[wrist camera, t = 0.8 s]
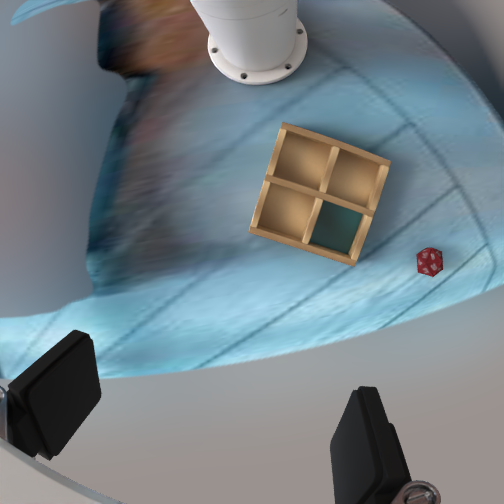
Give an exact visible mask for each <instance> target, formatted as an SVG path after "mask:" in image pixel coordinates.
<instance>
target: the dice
mask: <svg viewBox="0 0 504 504" xmlns="http://www.w3.org/2000/svg"><path fill="white" fill-rule="evenodd" d="M417 267H418V273H422V274H425V275H429V276H432V277H434V276H435V275H436V274H438V273H439V272H440V271H441V270H443V258H442V251H439V250H437V249H434V248H425V249H424V250H422V251H421V252H419V253H418V254H417Z"/></svg>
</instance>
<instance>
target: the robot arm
mask: <svg viewBox="0 0 504 504" xmlns="http://www.w3.org/2000/svg"><path fill="white" fill-rule="evenodd" d="M190 2H191V3H192V5H193V6H194V8H195V9H196V11H197V13H198V14H199V16H200V17H201V19H202V21H203V22H204V24H205V26H206V27H207V29H208V31H209V32H210V35H209V38H208V50H209V55H210V57H211V59H212V62H213V63H214V65H215V66H216V67H217V68H218V69H219V71H220V72H221V73H223V74H224V75H225V76H227V77H228V78H230V79H232V80H234V81H236V82H240V83H243V84H249V85H265V84H270V83H274V82H277V81H279V80H282V79H284V78H286V77H287V76H289V75H291V74H292V73H293V72H294V71H295V70H296V69H297V68H298V67H299V66H300V64H301V63H302V62H303V59H304V57H305V55H306V51H307V43H308V39H307V33H306V31H305V28H304V26H303V24H302V23H301V21H300V20H299V19H298V18H297V4H298V0H190ZM298 33H301V34H298ZM215 51H218V52H217V53H214V52H215ZM287 67H289V68H290V69H289V70H287V69H286V68H287ZM245 76H246V77H247V78H246V79H243V77H245ZM8 387H9V390H8V391H7V392H6V391H5V389H4V388H2V387H1V386H0V504H125V503H122V502H120V501H117V500H115V499H112V498H110V497H107V496H105V495H103V494H101V493H98V492H96V491H94V490H92V489H89V488H87V487H85V486H83V485H81V484H79V483H77V482H75V481H73V480H71V479H69V478H67V477H65V476H63V475H61V474H59V473H57V472H56V471H54V470H52V469H50V468H48V467H47V466H45V465H43V464H42V463H39V462H38V461H36V460H35V456H36V455H37V453H38V454H39V455H41V456H42V457H44V458H46V459H47V460H49V461H50V460H51V459H52V457H53V456H57V455H58V454H59V453H60V452H61V451H62V449H63V448H64V447H65V445H66V444H67V443H68V441H69V440H70V439H71V437H72V436H73V435H74V433H75V432H76V430H77V429H78V428H79V427H80V425H81V424H82V422H83V421H84V420H85V419H86V418H87V416H88V415H89V414H90V412H91V411H92V410H93V408H94V407H95V406H96V404H97V403H98V402H99V400H100V398H101V388H100V383H99V377H98V371H97V365H96V358H95V351H94V344H93V340H92V339H90V336H89V334H87V333H84V332H81V331H78V330H73V331H72V332H70V333H69V334H68V335H67V336H66V337H64V338H63V339H62V340H61V341H59V342H58V343H57V344H56V345H55V346H53V347H52V348H51V349H50V350H49V351H47V352H46V353H45V354H44V355H43V356H41V357H40V358H39V359H38V360H37V361H35V362H34V363H33V364H32V365H31V366H30V367H28V368H27V369H26V370H25V371H24V372H23V373H21V374H20V375H19V376H18V377H17V378H16V379H14V380H13V381H12V382H11V383H10V384H9V385H8ZM330 453H331V463H332V473H333V484H334V496H335V504H440V502H441V497H440V494H439V491H438V490H437V489H436V487H435V486H433V485H432V484H430V483H429V482H425V481H418V480H416V481H412V480H411V476H410V473H409V470H408V467H407V463H406V460H405V457H404V454H403V451H402V448H401V445H400V442H399V439H398V436H397V433H396V430H395V427H394V425H393V424H392V423H389V422H388V419H387V416H386V413H385V410H384V407H383V404H382V402H381V399H380V396H379V393H378V390H377V388H376V387H365V386H360V387H359V388H358V390H353V392H352V394H351V396H350V399H349V401H348V404H347V406H346V408H345V411H344V413H343V415H342V418H341V420H340V422H339V424H338V427H337V429H336V431H335V433H334V435H333V438H332V440H331V444H330Z"/></svg>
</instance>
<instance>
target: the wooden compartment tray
mask: <svg viewBox="0 0 504 504" xmlns="http://www.w3.org/2000/svg"><path fill="white" fill-rule="evenodd" d="M390 164H391V161H389V160H387V159H384V158H382V157H379V156H377V155H375V154H372V153H370V152H367V151H365V150H362V149H360V148H357V147H354V146H352V145H349V144H347V143H344V142H341V141H338V140H336V139H333V138H330V137H327V136H324V135H321V134H319V133H316V132H313V131H310V130H307V129H303V128H300V127H297V126H294V125H291V124H288V123H284V122H282V125H281V128H280V131H279V134H278V137H277V141H276V144H275V147H274V150H273V153H272V157H271V160H270V163H269V166H268V170H267V173H266V176H265V179H264V182H263V186H262V189H261V192H260V195H259V199H258V202H257V205H256V208H255V212H254V215H253V218H252V221H251V225H250V228H249V231H248V232H249V233H252V234H255V235H259V236H262V237H265V238H268V239H271V240H274V241H277V242H280V243H284V244H287V245H290V246H293V247H296V248H299V249H302V250H305V251H308V252H311V253H314V254H317V255H320V256H323V257H326V258H329V259H332V260H336V261H339V262H342V263H345V264H348V265H351V266H355V264H356V262H357V259H358V257H359V254H360V251H361V249H362V246H363V244H364V241H365V238H366V235H367V233H368V230H369V227H370V224H371V222H372V219H373V218H372V217H373V216H374V213H375V210H376V207H377V204H378V201H379V198H380V195H381V192H382V189H383V186H384V183H385V180H386V177H387V174H388V170H389V167H390Z"/></svg>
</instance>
